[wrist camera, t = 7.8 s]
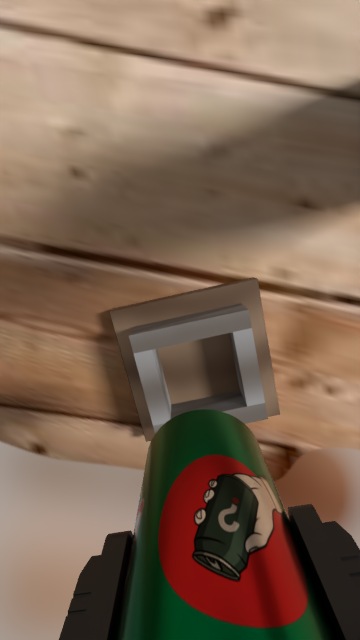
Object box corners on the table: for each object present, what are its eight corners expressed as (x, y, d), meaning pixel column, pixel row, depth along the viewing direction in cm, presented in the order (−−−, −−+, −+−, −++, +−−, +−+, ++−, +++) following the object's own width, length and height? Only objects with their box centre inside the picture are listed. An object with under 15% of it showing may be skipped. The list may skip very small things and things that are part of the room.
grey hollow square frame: (113, 308, 28) (100, 319, 23) (253, 277, 27) (267, 282, 23) (147, 432, 30) (142, 462, 26) (275, 406, 30) (291, 433, 25)
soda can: (127, 434, 14) (-175, 1437, 2) (224, 383, 13) (551, 1361, 2) (182, 514, 15) (186, 1524, 3) (276, 469, 14) (727, 1500, 2)
